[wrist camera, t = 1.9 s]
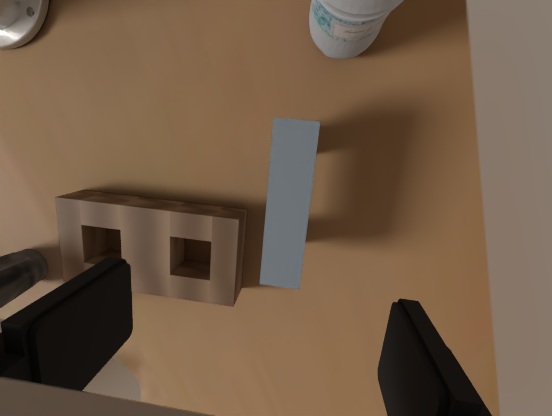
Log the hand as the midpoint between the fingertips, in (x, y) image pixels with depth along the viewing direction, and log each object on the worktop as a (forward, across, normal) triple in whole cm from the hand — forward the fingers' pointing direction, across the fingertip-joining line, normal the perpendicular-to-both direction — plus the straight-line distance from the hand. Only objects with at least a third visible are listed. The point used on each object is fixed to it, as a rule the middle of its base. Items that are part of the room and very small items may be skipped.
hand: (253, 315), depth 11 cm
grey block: (+23, 0, 0) cm, 23 cm away
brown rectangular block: (+23, +15, +8) cm, 29 cm away
